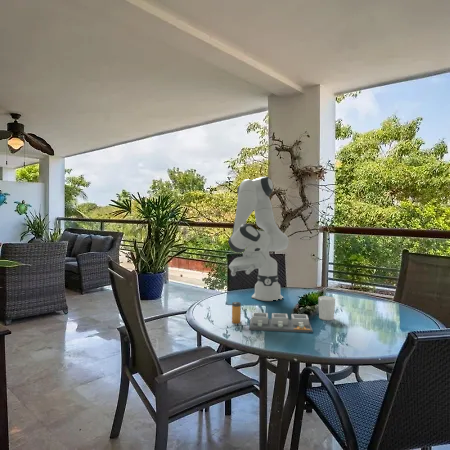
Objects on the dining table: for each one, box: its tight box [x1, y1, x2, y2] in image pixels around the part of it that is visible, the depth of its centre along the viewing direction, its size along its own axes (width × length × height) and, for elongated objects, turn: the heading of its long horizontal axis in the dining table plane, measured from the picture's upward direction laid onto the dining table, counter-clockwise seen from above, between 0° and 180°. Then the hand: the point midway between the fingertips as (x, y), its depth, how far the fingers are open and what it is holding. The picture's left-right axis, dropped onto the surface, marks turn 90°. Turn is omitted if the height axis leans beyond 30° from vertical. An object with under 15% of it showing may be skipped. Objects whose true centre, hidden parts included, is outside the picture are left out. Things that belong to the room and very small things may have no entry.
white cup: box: [317, 295, 336, 321], centre depth 174 cm, size 8×8×10 cm
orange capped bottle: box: [231, 301, 242, 325], centre depth 166 cm, size 4×4×9 cm
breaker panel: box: [248, 311, 314, 333], centre depth 161 cm, size 14×27×4 cm, turn 84°
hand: (239, 274), depth 171 cm, fingers open, 8 cm apart
